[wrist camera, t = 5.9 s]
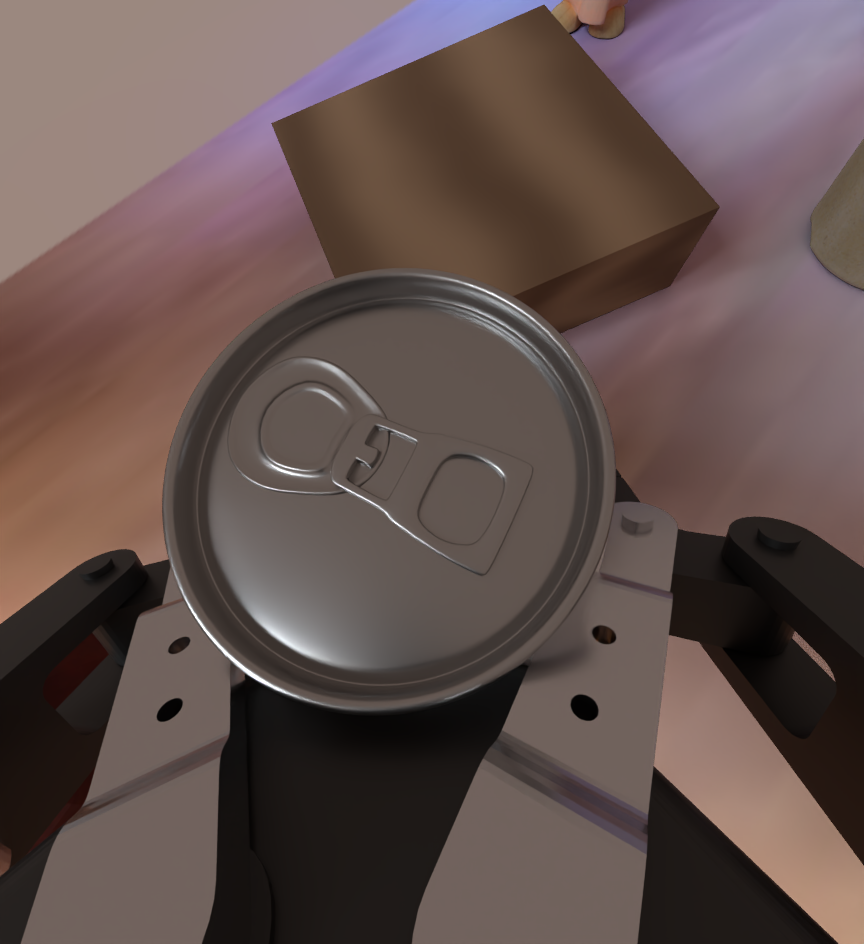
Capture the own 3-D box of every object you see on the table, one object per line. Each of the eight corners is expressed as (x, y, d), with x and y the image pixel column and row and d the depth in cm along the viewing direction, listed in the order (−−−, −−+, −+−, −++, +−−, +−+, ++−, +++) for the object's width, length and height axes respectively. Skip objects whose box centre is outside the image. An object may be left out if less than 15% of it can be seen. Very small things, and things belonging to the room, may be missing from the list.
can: (417, 447, 18) (295, 194, 6) (555, 509, 16) (737, 326, 5) (346, 582, 16) (28, 579, 5) (489, 661, 15) (515, 924, 3)
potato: (3, 711, 17) (-314, 796, 10) (162, 572, 18) (-34, 566, 11) (75, 880, 15) (-265, 1129, 8) (251, 714, 15) (76, 814, 9)
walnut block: (391, 405, 18) (367, 358, 14) (307, 201, 22) (271, 123, 19) (670, 285, 18) (719, 207, 14) (533, 103, 22) (544, 4, 19)
